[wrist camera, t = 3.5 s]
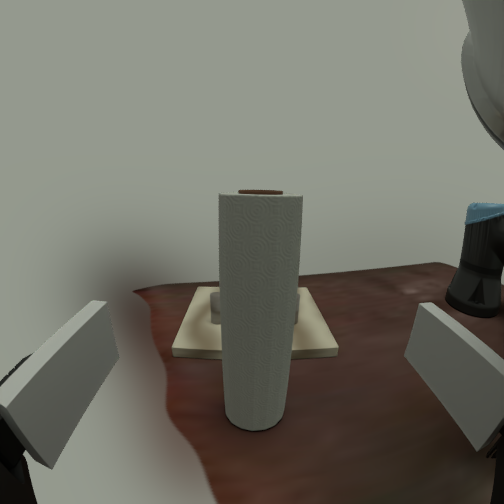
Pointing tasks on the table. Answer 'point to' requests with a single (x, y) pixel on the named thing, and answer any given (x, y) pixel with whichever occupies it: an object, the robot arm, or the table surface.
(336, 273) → the table surface
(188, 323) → the plate
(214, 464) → the table surface
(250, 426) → the paper towel roll
